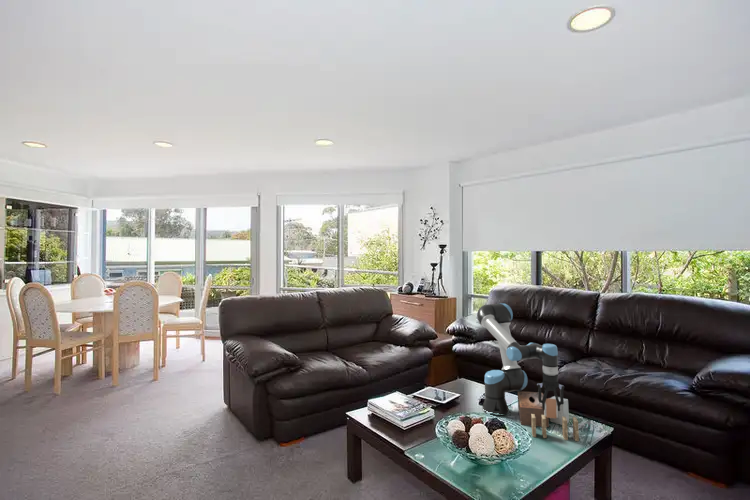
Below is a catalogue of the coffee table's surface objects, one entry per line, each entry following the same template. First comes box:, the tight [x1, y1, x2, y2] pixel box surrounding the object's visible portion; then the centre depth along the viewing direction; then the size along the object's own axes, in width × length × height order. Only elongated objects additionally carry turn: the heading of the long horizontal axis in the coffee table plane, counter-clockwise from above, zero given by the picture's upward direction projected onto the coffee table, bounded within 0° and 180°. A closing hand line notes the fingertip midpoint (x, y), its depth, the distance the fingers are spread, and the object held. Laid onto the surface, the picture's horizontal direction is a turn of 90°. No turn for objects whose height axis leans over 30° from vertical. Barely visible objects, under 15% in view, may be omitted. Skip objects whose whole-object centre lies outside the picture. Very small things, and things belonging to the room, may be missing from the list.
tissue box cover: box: [517, 390, 550, 428], centre depth 229 cm, size 26×14×10 cm, turn 163°
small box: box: [549, 395, 570, 426], centre depth 221 cm, size 8×6×13 cm
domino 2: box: [541, 415, 548, 439], centre depth 205 cm, size 2×5×10 cm, turn 164°
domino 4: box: [572, 416, 580, 442], centre depth 201 cm, size 2×5×10 cm, turn 164°
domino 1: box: [531, 414, 537, 438], centre depth 206 cm, size 2×5×10 cm, turn 164°
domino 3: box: [561, 416, 569, 441], centre depth 202 cm, size 2×5×10 cm, turn 164°
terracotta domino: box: [546, 397, 556, 419], centre depth 213 cm, size 2×5×10 cm, turn 74°
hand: (551, 415), depth 213 cm, fingers closed on terracotta domino, 5 cm apart
